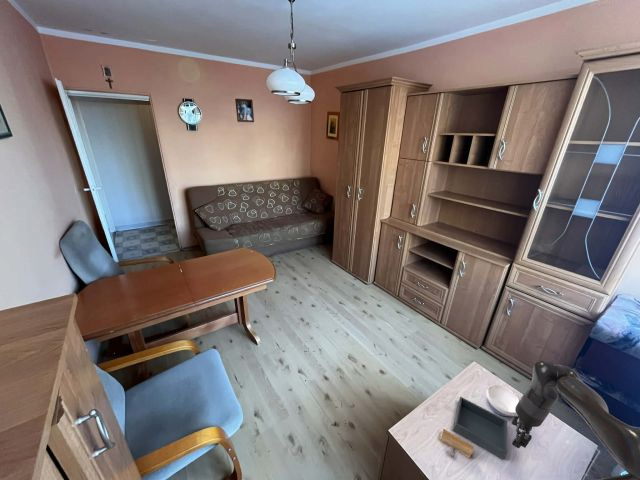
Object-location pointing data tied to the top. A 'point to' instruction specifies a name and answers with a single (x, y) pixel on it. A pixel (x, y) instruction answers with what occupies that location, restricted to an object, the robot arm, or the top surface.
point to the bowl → (502, 400)
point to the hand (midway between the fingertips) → (515, 434)
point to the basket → (481, 427)
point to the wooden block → (456, 443)
